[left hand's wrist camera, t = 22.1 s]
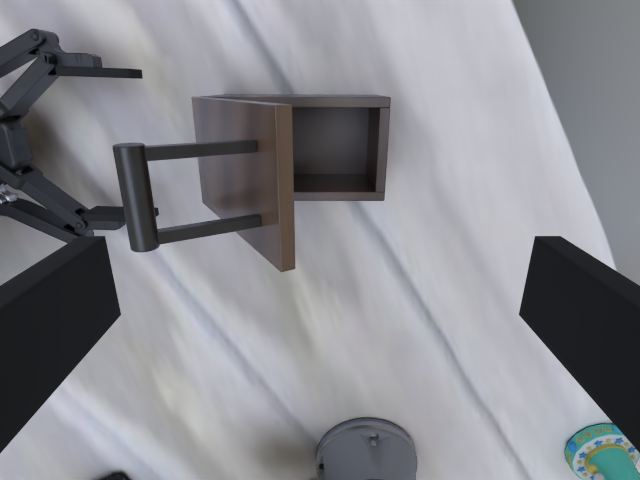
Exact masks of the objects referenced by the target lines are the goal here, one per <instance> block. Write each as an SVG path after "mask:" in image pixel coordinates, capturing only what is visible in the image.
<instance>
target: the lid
mask: <svg viewBox="0 0 640 480" xmlns="http://www.w3.org/2000/svg"><path fill="white" fill-rule="evenodd" d="M192 106H193V115H194V125H195V134H196V143H184V144H168V145H152V146H145V145H144V144H142V143H122V144H116V145H113V152H114V157H115V163H116V169H117V174H118V180H119V185H120V191H121V197H122V202H123V208H124V213H125V219H126V224H127V230H128V236H129V241H130V247H131V250H132V251H134V252H148V251H152V250H155V249H157V248H158V247H159V245H160V244H165V243H170V242H176V241H182V240H188V239H194V238H199V237H205V236H211V235H217V234H222V233H228V232H234V231H235V232H236V233H238V234H239V235H240V236H241V237H242V238H243V239H244V240H245V241H247V242H248V243H249V244H250V245H251V246H252V247H253V248H254V249H256V250H257V251H258V252H259V253H260V254H261V255H262V256H263V257H265V258H266V259H267V260H268V261H269V262H270V263H271V264H272V265H274V266H275V267H276V268H277V269H278V270H279V271H280V272H284V271H288V270H293V269H295V229H294V181H293V133H292V105H291V104H279V103H268V102H257V101H245V100H234V99H222V98H211V97H192ZM193 157H198V163H199V172H200V182H201V191H202V201H203V203H204V204H205V205H206V206H207V207H208V208H209V209H211V210H212V211H213V212H214V213H215V214H216V215H217V216H218V217H220V218H221V219H220V220H213V221H207V222H201V223H194V224H188V225H181V226H175V227H169V228H162V229H157V223H156V217H155V210H154V204H153V197H152V190H151V184H150V177H149V170H148V164H147V161H155V160H167V159H180V158H193Z"/></svg>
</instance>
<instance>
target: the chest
mask: <svg viewBox="0 0 640 480" xmlns="http://www.w3.org/2000/svg"><path fill="white" fill-rule="evenodd" d="M201 97H211V98H222V99H234V100H245V101H257V102H268V103H279V104H291V105H292V133H293V181H294V201H384V196H385V181H386V165H387V149H388V133H389V117H390V100H391V98H390V97H385V96H379V95H212V96H201Z"/></svg>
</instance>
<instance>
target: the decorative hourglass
mask: <svg viewBox="0 0 640 480" xmlns="http://www.w3.org/2000/svg"><path fill="white" fill-rule="evenodd" d="M565 455H566V461H567V462H568V464H569V466H570V468H571V469H572V470H573V472H575V474H576V475H577V476H578V477H579V478H581V479H583V480H640V473H639V472H638V471H637V469H636V467H635V465H636V463H637V461H638V459H639V457H640V453H639V452H638V451H637V449H636V448H635V447H634V446H633V445H632V444H631V443H630V441H629V440H628V439H627V438H626V437H625V436H624V435H623V433H622V432H621V431H620V430H619V429H618V428H617V427H616V425H612V424H600V425H595V426H591V427H588V428H586V429H584V430H582V431H580V432H579V433H577V434H576V435H575V436H574V437H573V438H572V439H571V440H570V441H569V442H568V445H567V447H566V450H565Z"/></svg>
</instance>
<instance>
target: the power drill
mask: <svg viewBox="0 0 640 480" xmlns="http://www.w3.org/2000/svg"><path fill="white" fill-rule="evenodd" d="M103 480H127V479H126V478H125V477H124V476H123V475H122V474H117V475H115V476H111V475H109V476H108V477H107V479H103Z"/></svg>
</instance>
